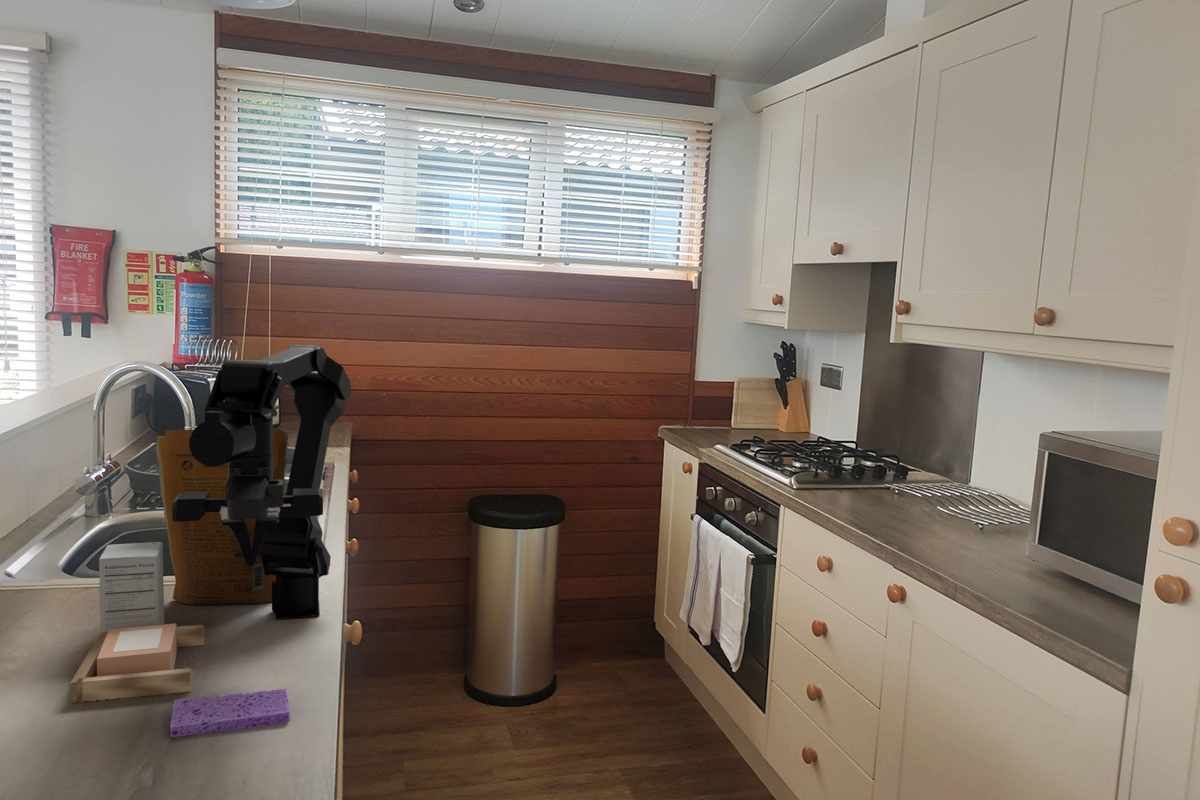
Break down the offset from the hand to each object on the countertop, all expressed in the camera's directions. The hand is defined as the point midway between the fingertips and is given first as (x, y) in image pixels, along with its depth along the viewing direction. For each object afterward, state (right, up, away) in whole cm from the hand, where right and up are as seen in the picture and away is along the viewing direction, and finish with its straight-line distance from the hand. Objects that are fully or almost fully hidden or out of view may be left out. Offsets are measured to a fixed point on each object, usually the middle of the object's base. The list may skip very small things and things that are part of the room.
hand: (251, 565), depth 119 cm
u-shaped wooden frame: (-11, -12, -7) cm, 18 cm away
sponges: (+5, -15, -18) cm, 24 cm away
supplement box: (-19, -11, +4) cm, 22 cm away
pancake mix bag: (-12, -10, +19) cm, 25 cm away
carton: (-12, -13, -7) cm, 19 cm away
